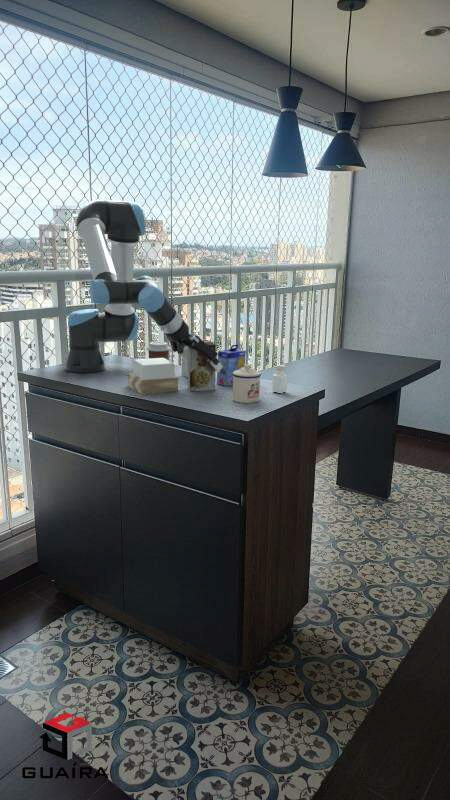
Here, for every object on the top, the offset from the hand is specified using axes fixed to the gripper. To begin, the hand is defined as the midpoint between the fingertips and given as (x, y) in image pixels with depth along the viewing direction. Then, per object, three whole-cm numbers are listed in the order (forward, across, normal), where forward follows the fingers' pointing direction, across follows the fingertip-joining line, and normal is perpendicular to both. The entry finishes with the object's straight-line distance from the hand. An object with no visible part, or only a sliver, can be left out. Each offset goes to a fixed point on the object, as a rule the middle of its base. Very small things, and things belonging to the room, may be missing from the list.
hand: (206, 366), depth 194 cm
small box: (+13, -17, +2) cm, 22 cm away
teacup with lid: (+6, +20, -6) cm, 22 cm away
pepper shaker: (+16, +21, +5) cm, 27 cm away
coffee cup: (+7, -29, -4) cm, 30 cm away
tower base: (-5, -11, -16) cm, 20 cm away
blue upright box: (+14, +1, +3) cm, 15 cm away
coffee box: (+4, 0, -7) cm, 8 cm away
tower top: (-8, -10, -13) cm, 18 cm away
